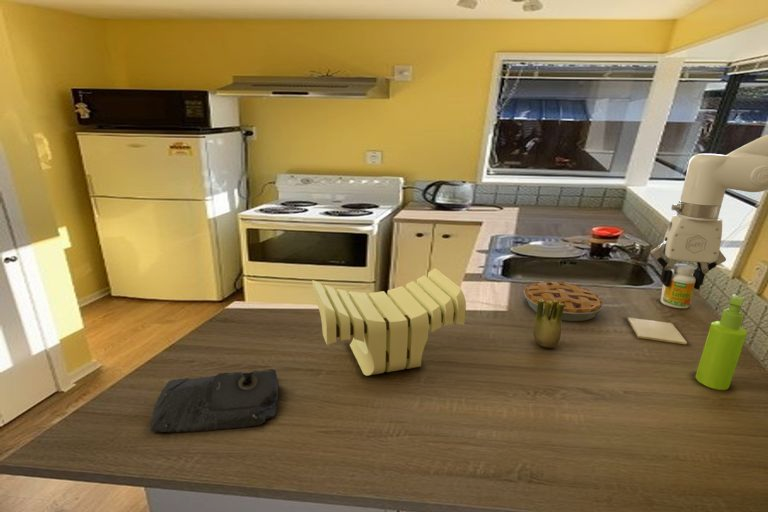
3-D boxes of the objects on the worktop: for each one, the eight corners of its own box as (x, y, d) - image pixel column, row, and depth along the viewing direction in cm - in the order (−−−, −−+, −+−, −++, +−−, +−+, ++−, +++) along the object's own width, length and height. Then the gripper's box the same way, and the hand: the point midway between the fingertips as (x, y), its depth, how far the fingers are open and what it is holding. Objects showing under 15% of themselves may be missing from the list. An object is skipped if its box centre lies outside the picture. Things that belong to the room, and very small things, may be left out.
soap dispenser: (691, 383, 91) (717, 297, 85) (698, 370, 96) (723, 288, 89) (725, 395, 87) (755, 307, 81) (731, 382, 92) (759, 297, 85)
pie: (534, 322, 116) (536, 306, 114) (513, 291, 137) (515, 276, 135) (615, 325, 115) (618, 309, 114) (582, 293, 136) (585, 279, 135)
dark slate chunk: (170, 383, 86) (167, 363, 85) (281, 375, 90) (279, 355, 88) (142, 437, 72) (138, 414, 71) (275, 424, 76) (274, 402, 74)
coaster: (671, 325, 117) (672, 323, 116) (686, 344, 107) (687, 342, 106) (627, 319, 119) (627, 317, 119) (638, 337, 109) (638, 335, 109)
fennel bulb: (529, 343, 105) (536, 299, 101) (539, 337, 108) (546, 294, 105) (551, 353, 101) (559, 307, 97) (561, 346, 104) (569, 301, 100)
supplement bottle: (667, 307, 100) (676, 269, 97) (658, 298, 105) (667, 261, 102) (693, 310, 99) (703, 271, 96) (683, 300, 104) (692, 263, 101)
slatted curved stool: (327, 390, 86) (326, 310, 80) (314, 350, 100) (312, 279, 94) (460, 366, 95) (467, 293, 89) (430, 332, 109) (435, 268, 103)
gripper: (660, 211, 93) (644, 287, 99) (752, 217, 89) (729, 296, 95) (650, 205, 100) (635, 276, 106) (734, 210, 96) (714, 284, 102)
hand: (680, 285), depth 100 cm, fingers closed on supplement bottle, 5 cm apart
